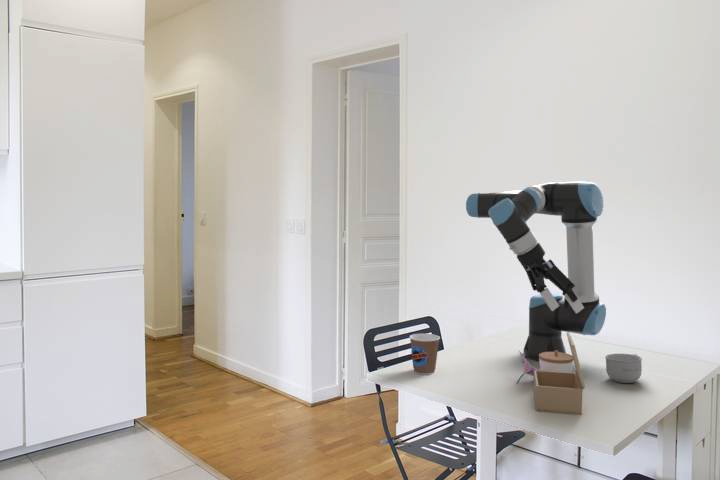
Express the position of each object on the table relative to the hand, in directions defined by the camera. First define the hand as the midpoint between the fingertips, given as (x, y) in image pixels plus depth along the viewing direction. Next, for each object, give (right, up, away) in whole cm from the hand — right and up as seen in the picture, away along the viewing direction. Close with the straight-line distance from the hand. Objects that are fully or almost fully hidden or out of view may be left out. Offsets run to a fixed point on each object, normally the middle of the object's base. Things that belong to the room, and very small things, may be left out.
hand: (567, 309), depth 177 cm
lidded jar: (+4, -25, +23) cm, 35 cm away
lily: (-6, -26, +19) cm, 32 cm away
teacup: (+27, -26, +22) cm, 43 cm away
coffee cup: (-38, -25, +31) cm, 55 cm away
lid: (+1, -14, -2) cm, 14 cm away
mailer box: (-3, -27, 0) cm, 27 cm away
